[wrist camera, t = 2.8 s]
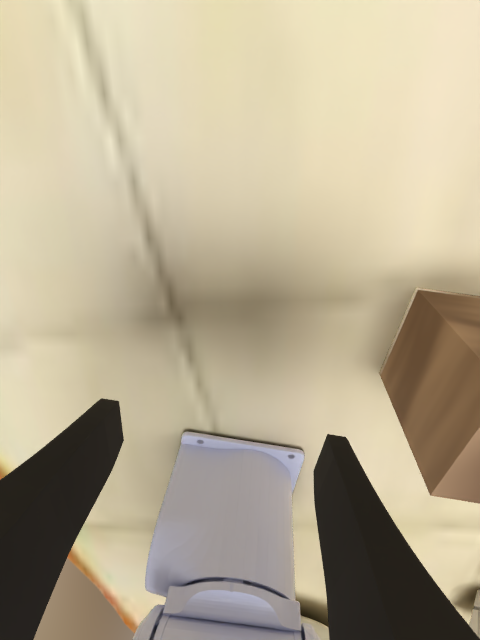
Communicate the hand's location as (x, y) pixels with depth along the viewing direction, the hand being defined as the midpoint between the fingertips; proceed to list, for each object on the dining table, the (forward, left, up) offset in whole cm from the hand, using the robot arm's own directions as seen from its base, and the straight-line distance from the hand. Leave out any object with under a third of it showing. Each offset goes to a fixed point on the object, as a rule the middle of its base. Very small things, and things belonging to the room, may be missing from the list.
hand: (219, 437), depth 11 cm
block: (+11, 0, -9) cm, 14 cm away
